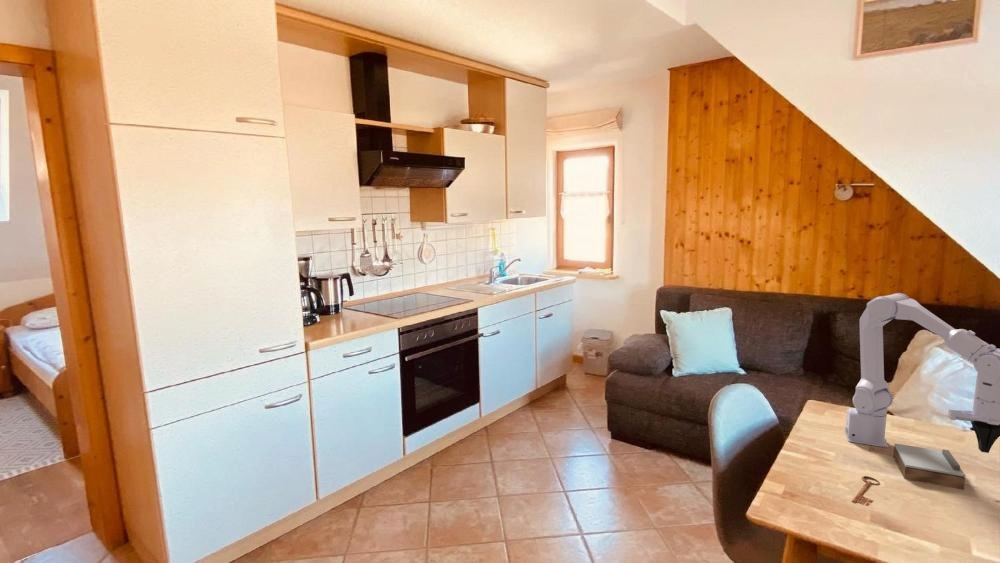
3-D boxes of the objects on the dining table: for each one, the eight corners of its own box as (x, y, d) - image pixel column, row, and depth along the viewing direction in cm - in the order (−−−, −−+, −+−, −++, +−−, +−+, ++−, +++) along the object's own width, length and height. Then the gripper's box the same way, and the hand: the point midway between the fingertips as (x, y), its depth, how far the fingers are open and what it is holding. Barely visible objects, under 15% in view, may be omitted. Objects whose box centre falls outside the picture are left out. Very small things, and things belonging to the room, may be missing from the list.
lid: (905, 466, 129) (906, 460, 128) (894, 445, 140) (894, 439, 139) (965, 476, 123) (965, 470, 123) (948, 453, 134) (949, 447, 134)
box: (904, 478, 129) (905, 467, 129) (893, 456, 140) (894, 446, 140) (963, 489, 124) (964, 478, 123) (947, 465, 135) (948, 454, 134)
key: (872, 512, 117) (890, 487, 127) (873, 509, 117) (891, 484, 126) (843, 499, 121) (863, 476, 131) (844, 496, 121) (864, 473, 131)
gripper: (957, 400, 124) (951, 452, 126) (1038, 409, 117) (1030, 464, 119) (947, 390, 130) (942, 439, 132) (1024, 398, 123) (1017, 451, 125)
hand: (983, 450), depth 126 cm, fingers closed
